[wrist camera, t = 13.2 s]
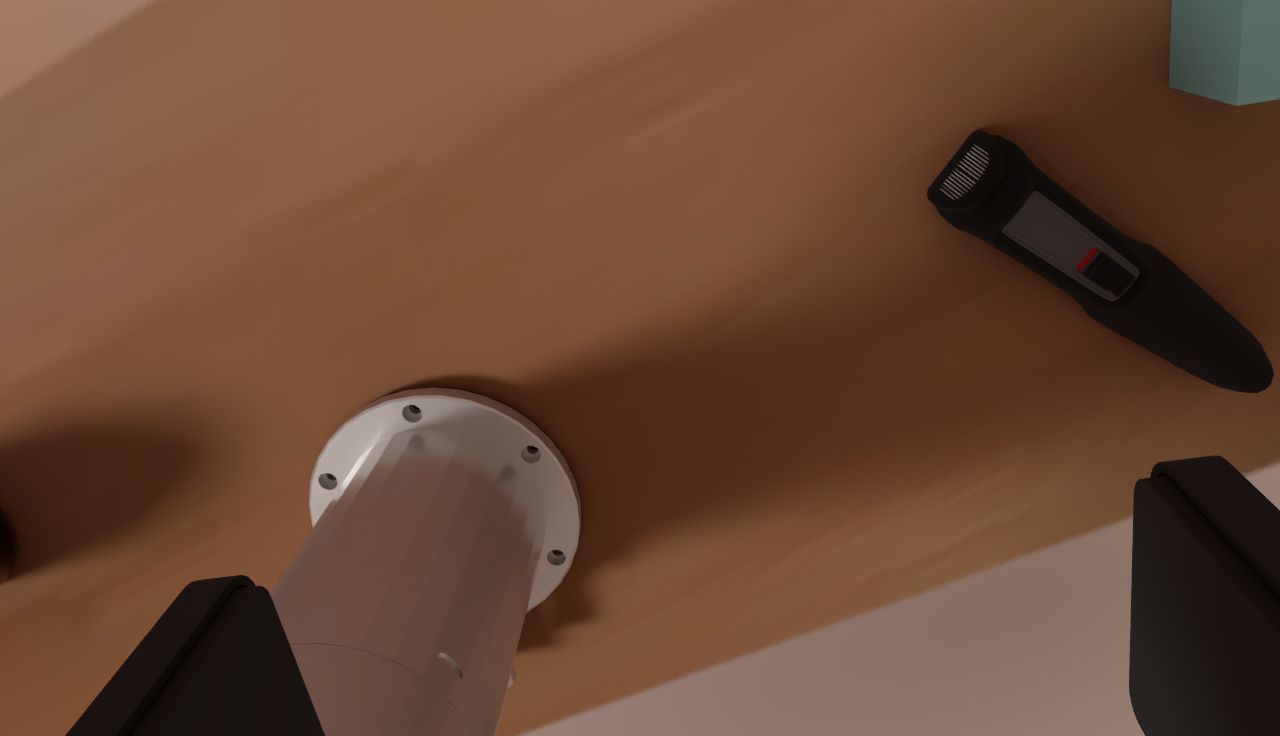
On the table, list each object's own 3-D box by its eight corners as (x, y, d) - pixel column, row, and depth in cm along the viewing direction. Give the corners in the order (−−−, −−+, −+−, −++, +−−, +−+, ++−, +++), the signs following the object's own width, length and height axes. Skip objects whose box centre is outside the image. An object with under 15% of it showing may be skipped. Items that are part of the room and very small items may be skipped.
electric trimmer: (1194, 393, 42) (1233, 426, 39) (916, 198, 39) (936, 218, 36) (1261, 326, 41) (1306, 354, 38) (978, 119, 38) (1004, 133, 35)
